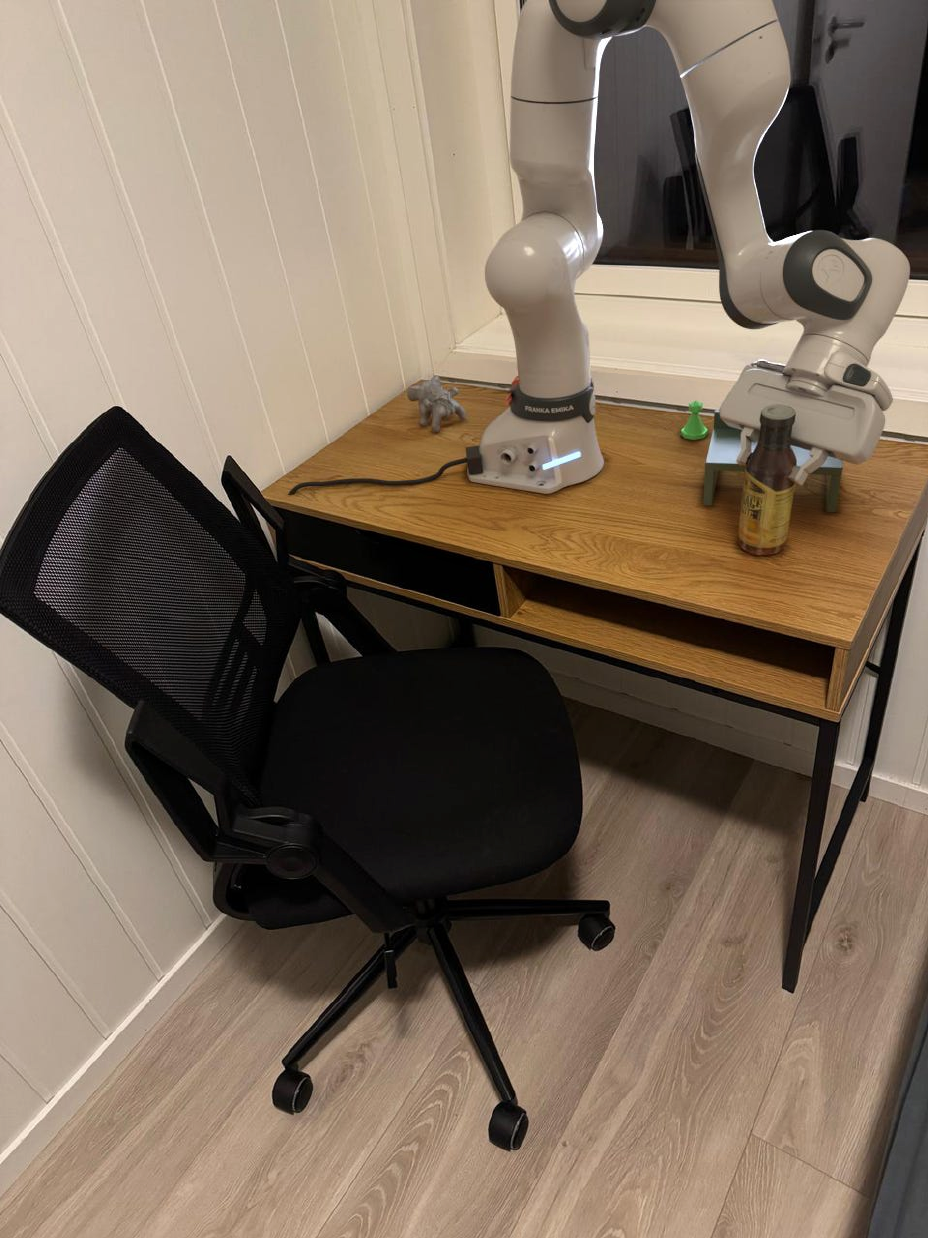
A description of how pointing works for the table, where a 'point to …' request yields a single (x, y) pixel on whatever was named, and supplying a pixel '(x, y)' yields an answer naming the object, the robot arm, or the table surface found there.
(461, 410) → the gray elephant figurine
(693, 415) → the game piece
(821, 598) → the table surface
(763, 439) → the sauce bottle
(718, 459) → the shelf
